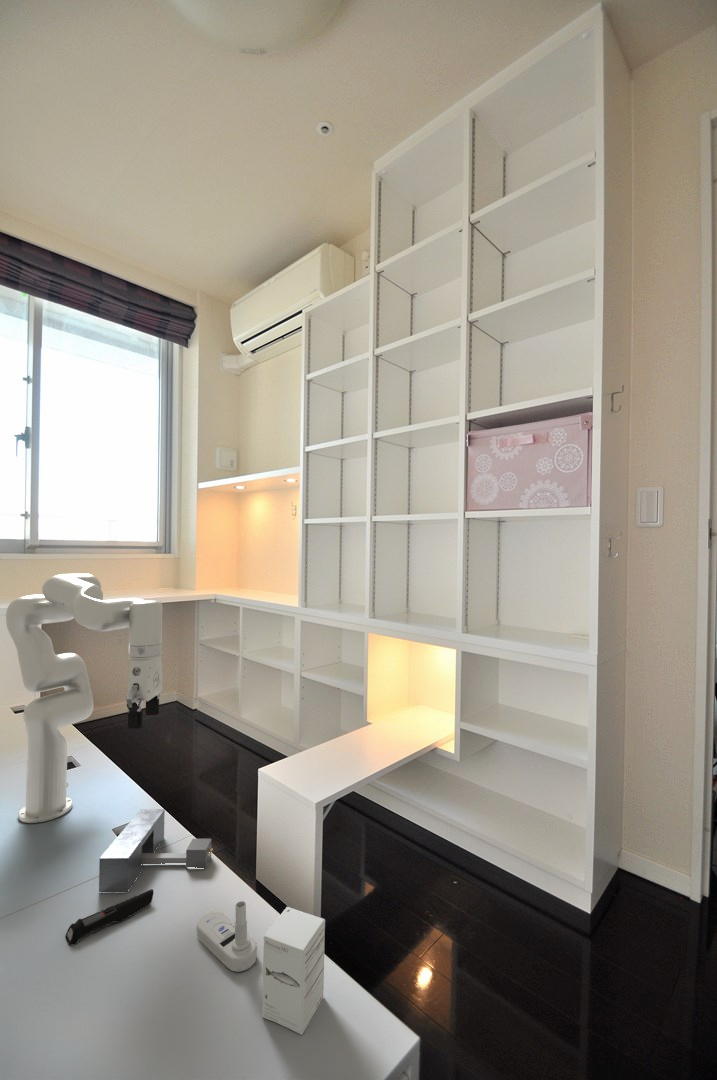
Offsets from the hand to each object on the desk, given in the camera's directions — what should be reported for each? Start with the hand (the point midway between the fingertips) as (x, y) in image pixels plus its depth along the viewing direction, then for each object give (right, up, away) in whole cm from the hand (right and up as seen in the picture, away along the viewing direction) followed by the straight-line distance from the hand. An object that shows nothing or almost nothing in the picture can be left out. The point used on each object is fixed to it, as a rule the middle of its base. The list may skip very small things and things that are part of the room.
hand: (144, 721), depth 121 cm
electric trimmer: (+4, -30, -25) cm, 40 cm away
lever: (+7, -30, -7) cm, 32 cm away
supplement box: (+42, -30, -43) cm, 68 cm away
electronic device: (+28, -30, -31) cm, 52 cm away
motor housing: (+1, -30, -7) cm, 31 cm away
